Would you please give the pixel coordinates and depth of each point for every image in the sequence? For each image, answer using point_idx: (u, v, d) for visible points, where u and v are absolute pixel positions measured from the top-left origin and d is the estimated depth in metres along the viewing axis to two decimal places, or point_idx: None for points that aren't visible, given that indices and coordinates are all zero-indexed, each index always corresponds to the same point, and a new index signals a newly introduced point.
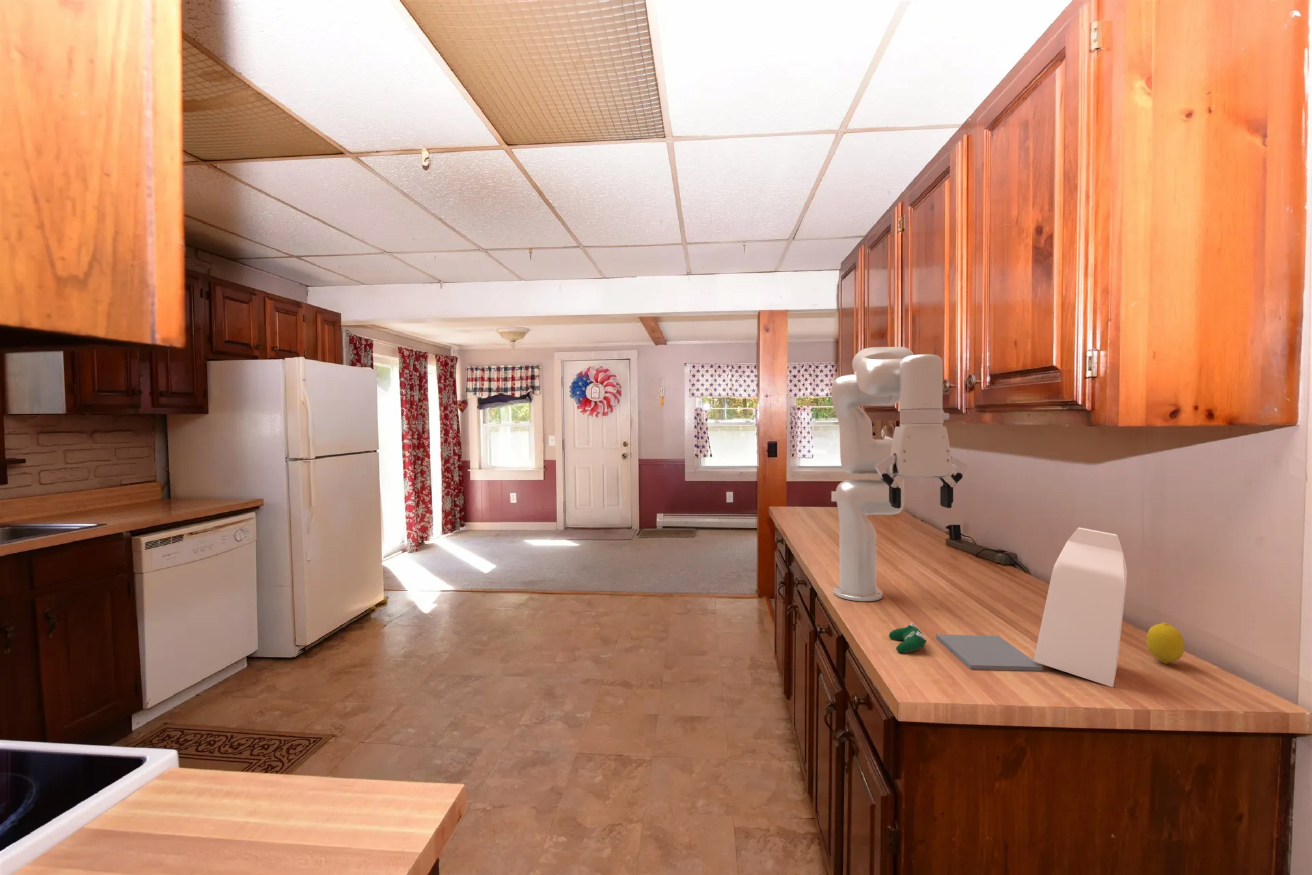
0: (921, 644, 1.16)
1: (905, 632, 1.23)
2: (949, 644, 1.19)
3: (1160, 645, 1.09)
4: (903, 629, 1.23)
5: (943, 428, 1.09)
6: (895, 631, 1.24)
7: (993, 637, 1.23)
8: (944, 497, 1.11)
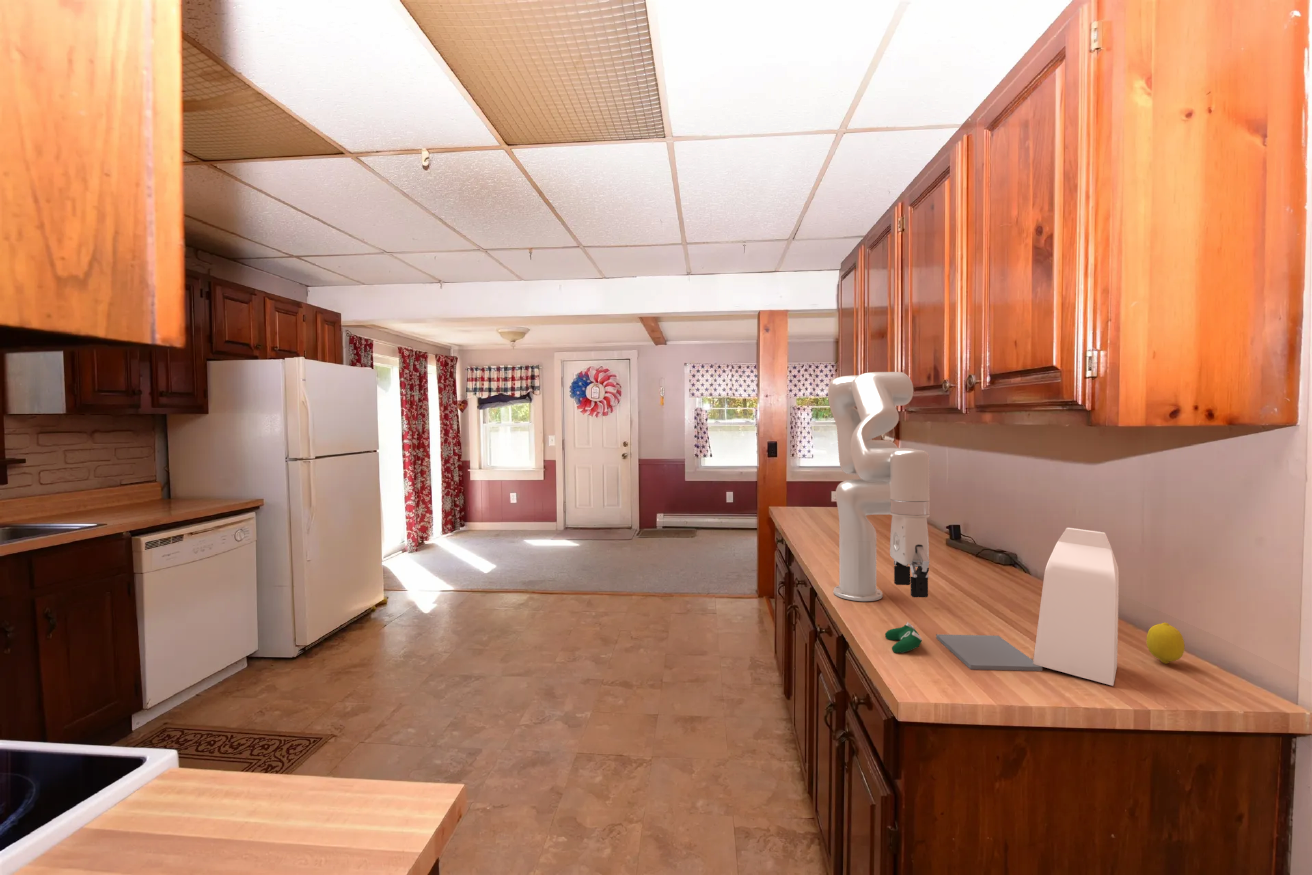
0: (917, 644, 1.17)
1: (901, 632, 1.23)
2: (949, 644, 1.19)
3: (1160, 645, 1.09)
4: (899, 629, 1.24)
5: None
6: (891, 631, 1.24)
7: (993, 637, 1.23)
8: (903, 576, 1.24)
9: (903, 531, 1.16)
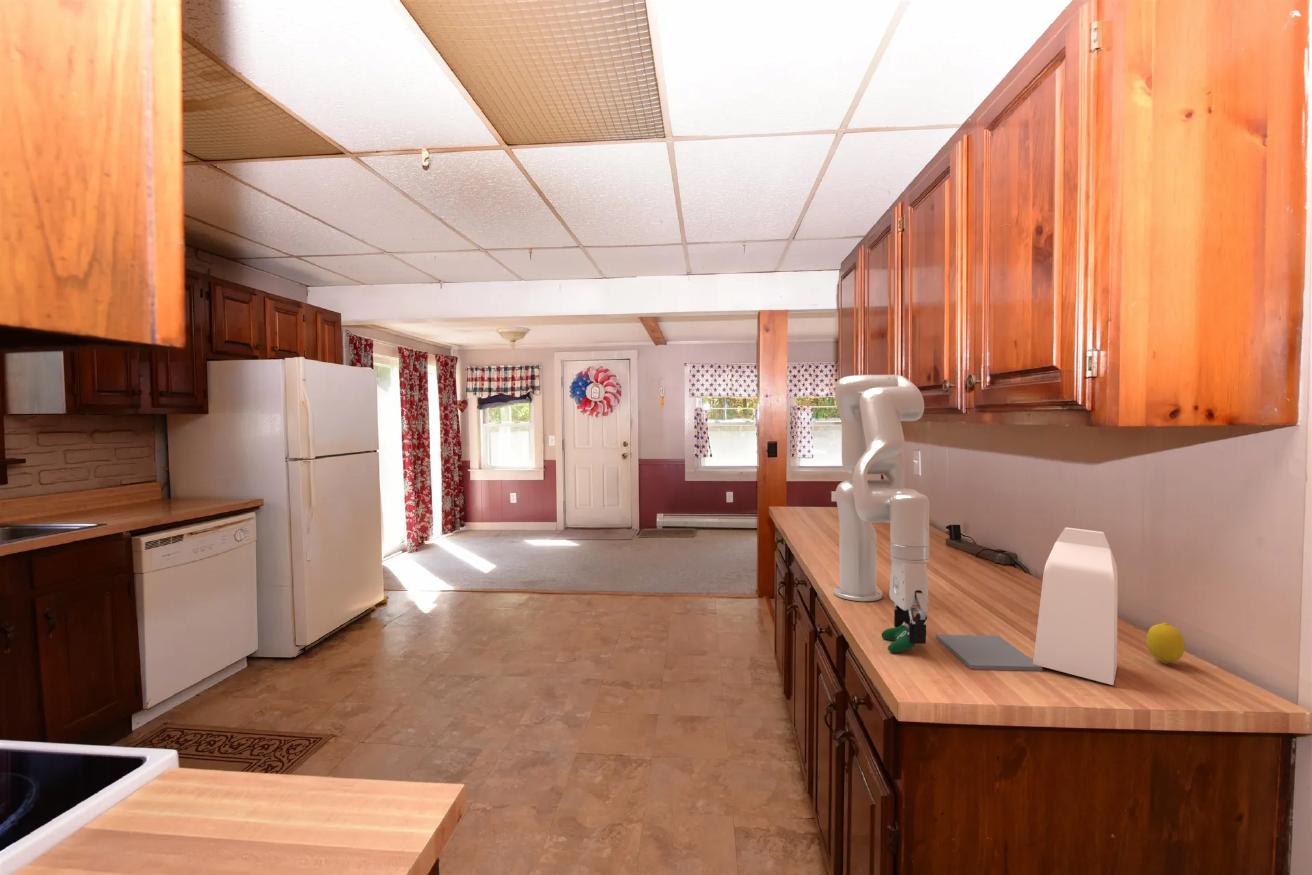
0: (913, 644, 1.16)
1: (897, 632, 1.23)
2: (949, 644, 1.19)
3: (1160, 645, 1.09)
4: (895, 628, 1.23)
5: None
6: (887, 630, 1.24)
7: (993, 637, 1.23)
8: (903, 619, 1.24)
9: (903, 576, 1.17)
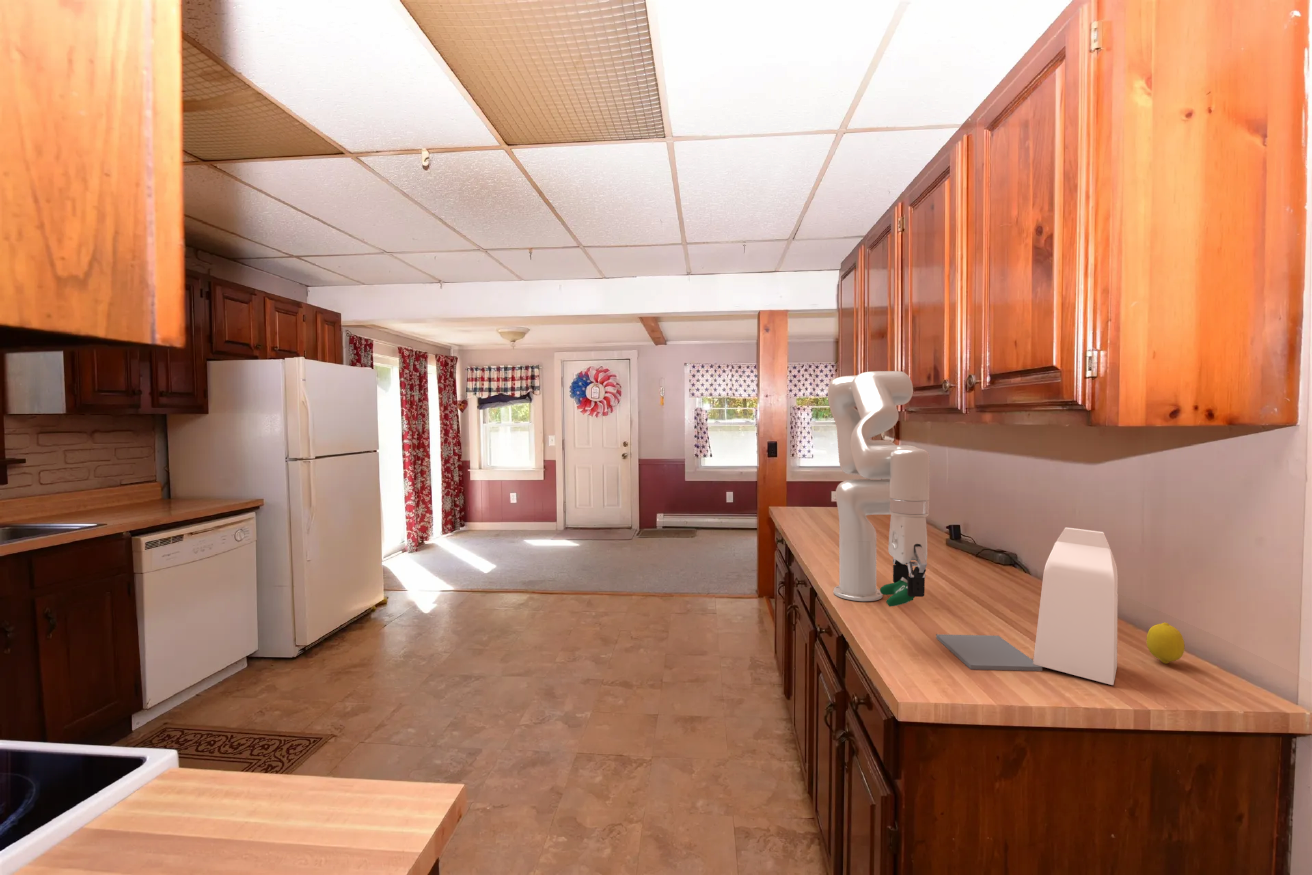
0: (911, 597, 1.17)
1: (896, 587, 1.23)
2: (949, 644, 1.19)
3: (1160, 645, 1.09)
4: (894, 584, 1.24)
5: None
6: (886, 586, 1.25)
7: (993, 637, 1.23)
8: (902, 575, 1.25)
9: (902, 530, 1.17)
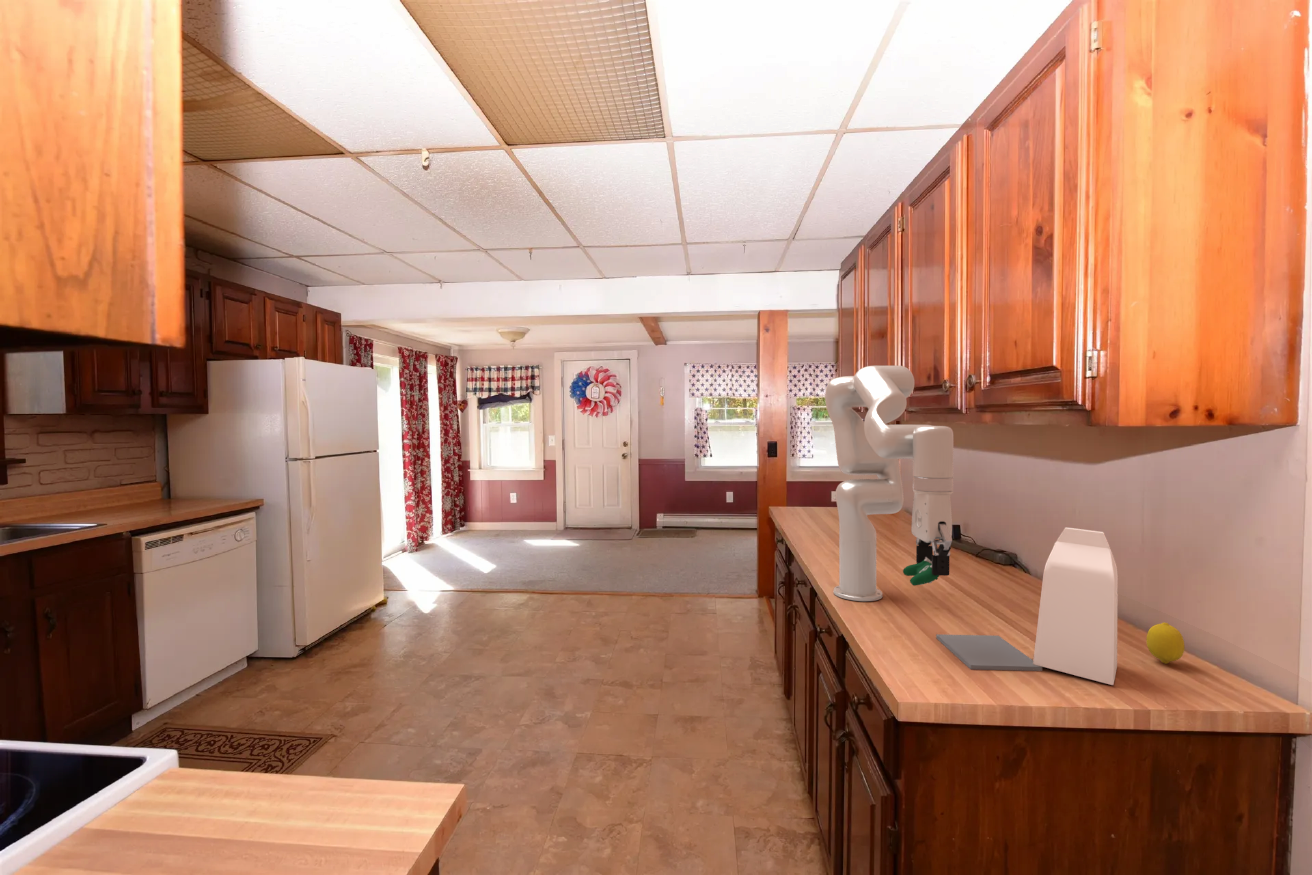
0: (935, 576, 1.15)
1: (919, 567, 1.22)
2: (949, 644, 1.19)
3: (1160, 645, 1.09)
4: (917, 564, 1.22)
5: None
6: (909, 567, 1.23)
7: (993, 637, 1.23)
8: (926, 555, 1.23)
9: (926, 508, 1.15)
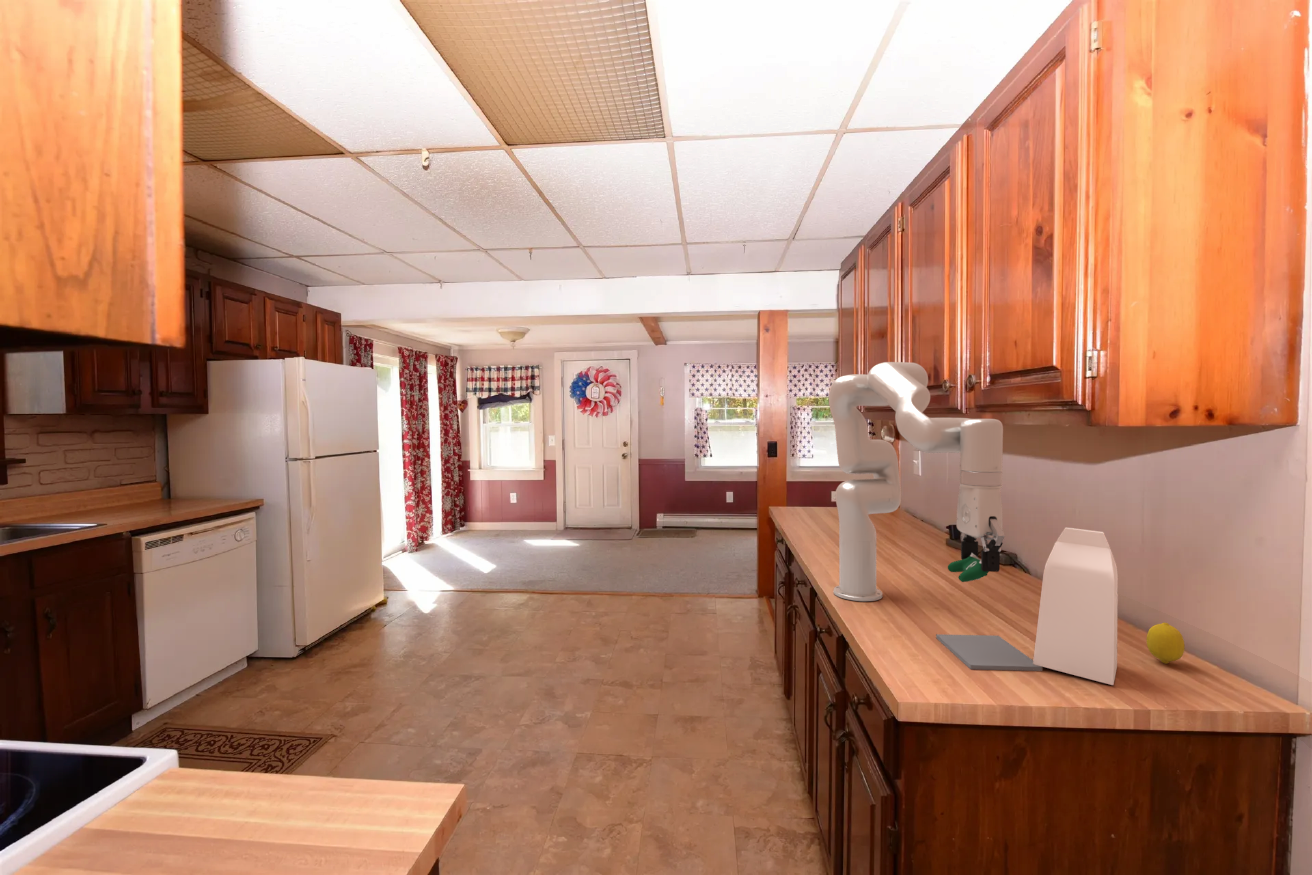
0: (985, 572, 1.13)
1: (965, 563, 1.19)
2: (949, 644, 1.19)
3: (1160, 645, 1.09)
4: (963, 560, 1.20)
5: None
6: (954, 563, 1.20)
7: (993, 637, 1.23)
8: (971, 551, 1.20)
9: (975, 502, 1.13)
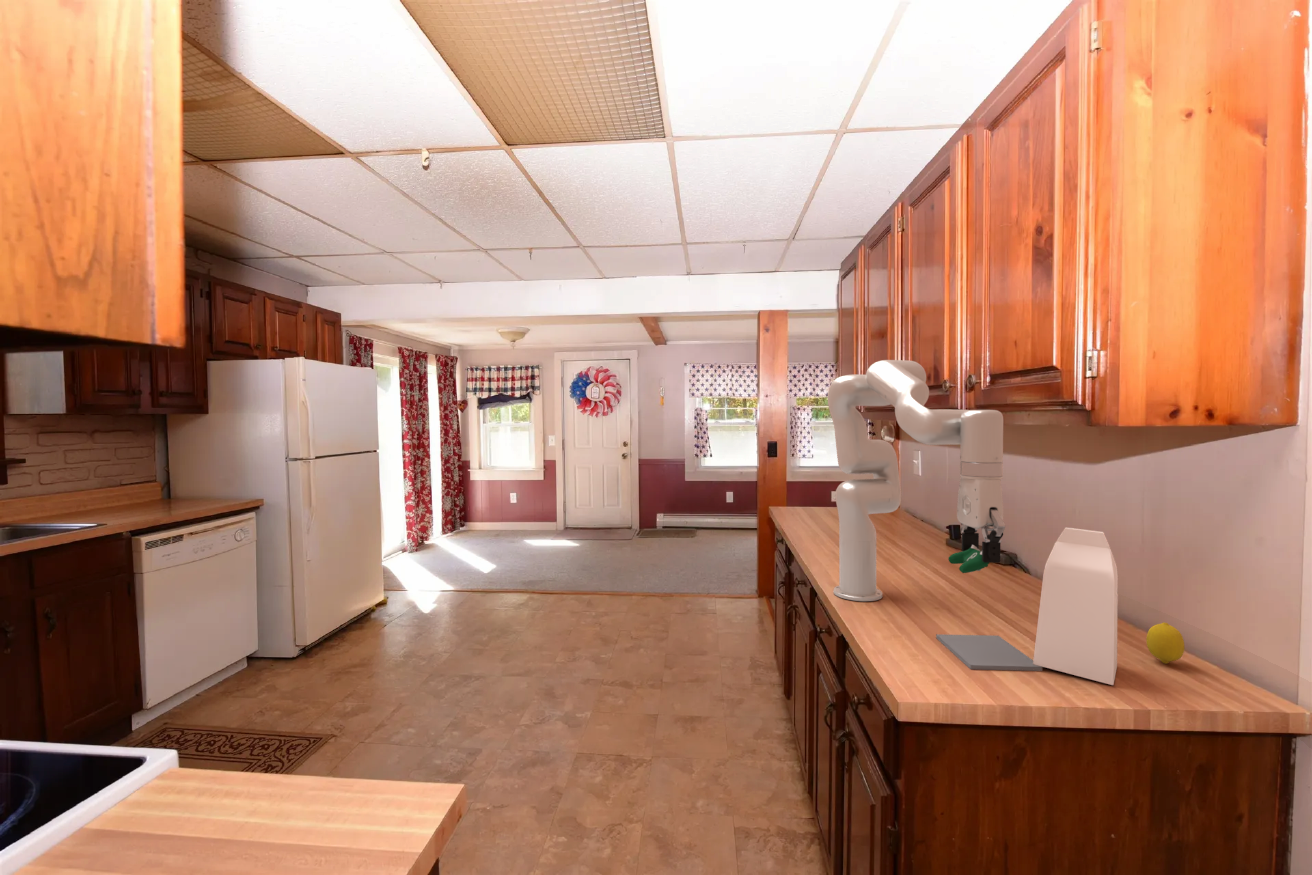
0: (986, 563, 1.12)
1: (966, 555, 1.19)
2: (949, 644, 1.19)
3: (1160, 645, 1.09)
4: (964, 552, 1.19)
5: None
6: (955, 554, 1.20)
7: (993, 637, 1.23)
8: (972, 543, 1.20)
9: (976, 493, 1.13)
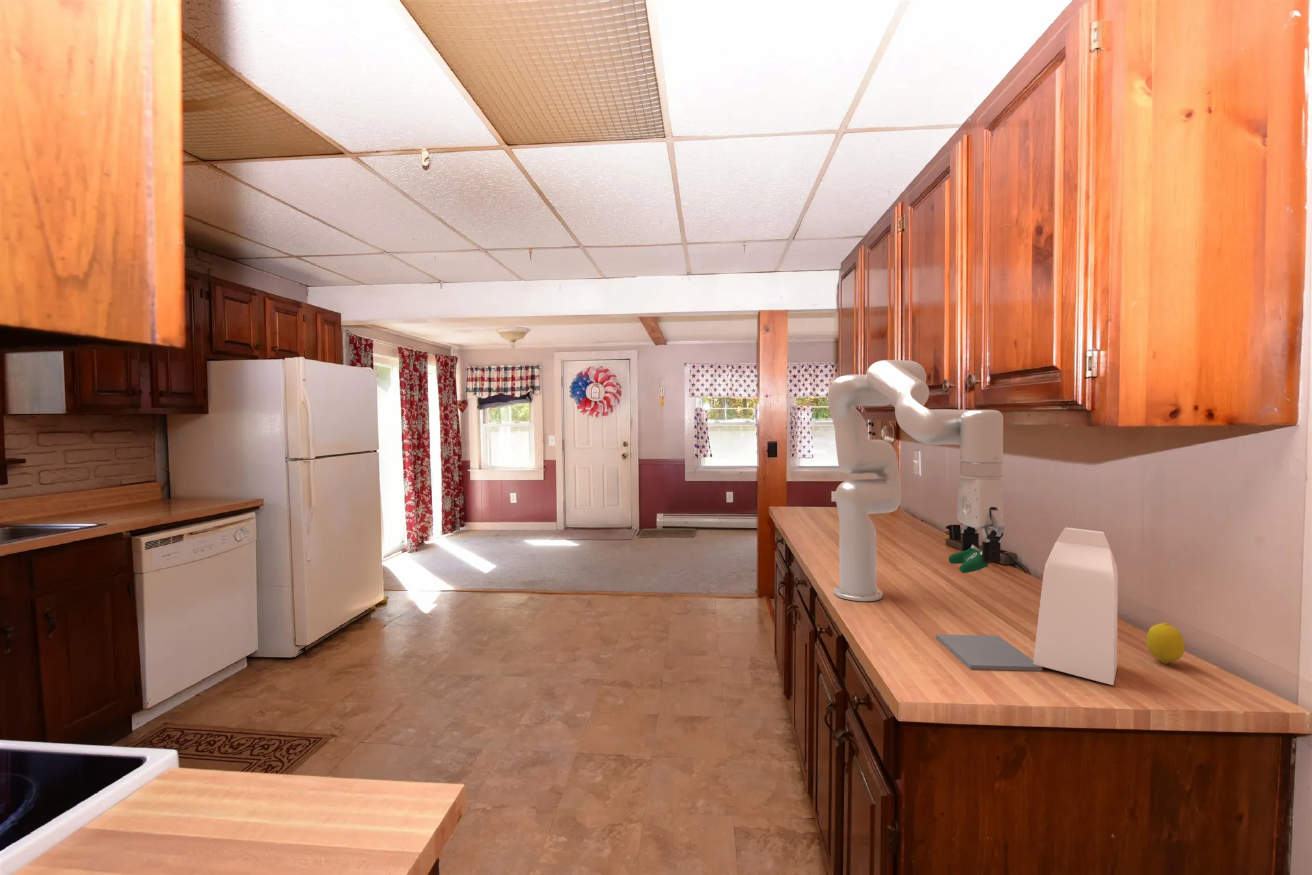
0: (986, 563, 1.12)
1: (966, 555, 1.19)
2: (949, 644, 1.19)
3: (1160, 645, 1.09)
4: (964, 552, 1.19)
5: None
6: (955, 554, 1.20)
7: (993, 637, 1.23)
8: (972, 543, 1.20)
9: (976, 493, 1.13)
